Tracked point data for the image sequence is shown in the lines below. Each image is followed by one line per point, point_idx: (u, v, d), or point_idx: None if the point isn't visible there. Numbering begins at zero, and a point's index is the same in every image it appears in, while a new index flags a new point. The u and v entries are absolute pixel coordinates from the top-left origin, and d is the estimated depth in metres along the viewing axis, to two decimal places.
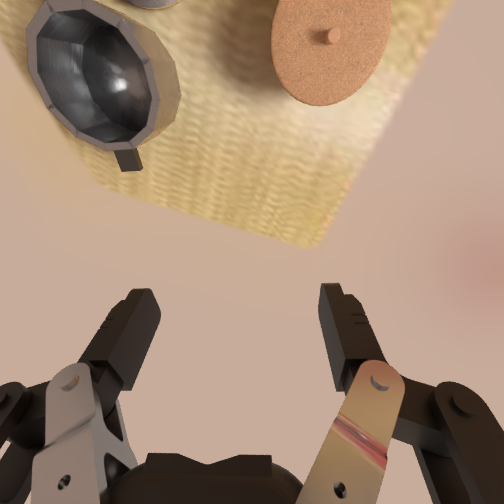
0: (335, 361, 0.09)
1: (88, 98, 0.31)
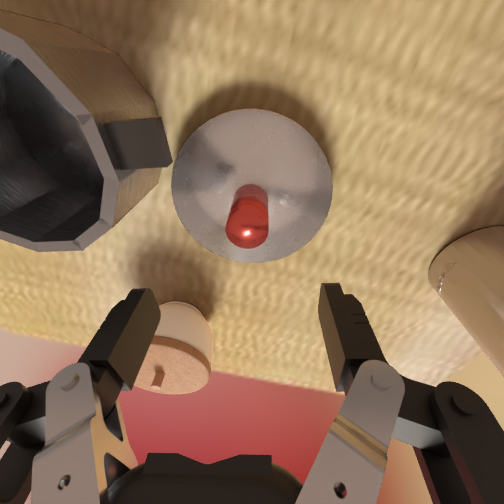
0: (335, 361, 0.09)
1: None
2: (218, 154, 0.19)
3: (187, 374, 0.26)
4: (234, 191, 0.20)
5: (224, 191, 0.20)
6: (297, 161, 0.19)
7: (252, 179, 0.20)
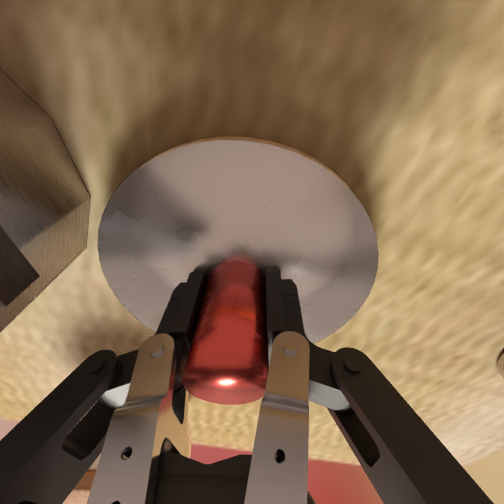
0: None
1: None
2: (177, 216, 0.10)
3: None
4: (209, 271, 0.12)
5: (192, 270, 0.12)
6: (320, 229, 0.10)
7: (239, 255, 0.11)
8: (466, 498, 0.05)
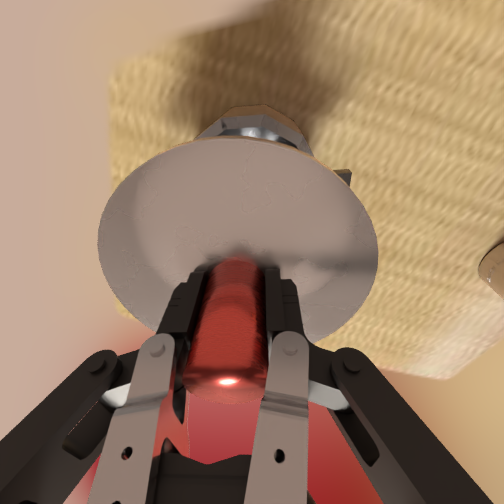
0: None
1: None
2: (176, 215, 0.10)
3: None
4: (209, 270, 0.12)
5: (192, 270, 0.12)
6: (320, 229, 0.10)
7: (239, 254, 0.11)
8: (466, 497, 0.05)
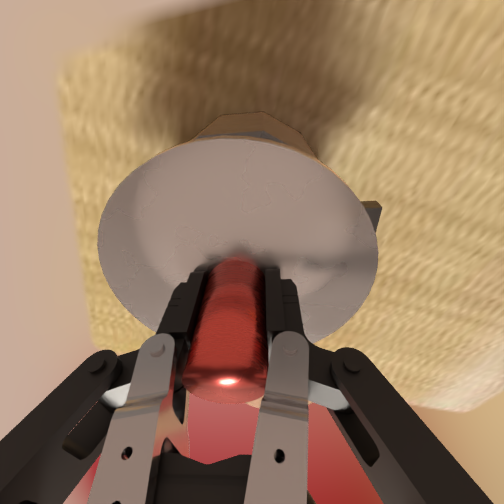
0: None
1: None
2: (176, 215, 0.10)
3: None
4: (209, 270, 0.12)
5: (192, 270, 0.12)
6: (320, 229, 0.10)
7: (239, 254, 0.11)
8: (465, 497, 0.05)
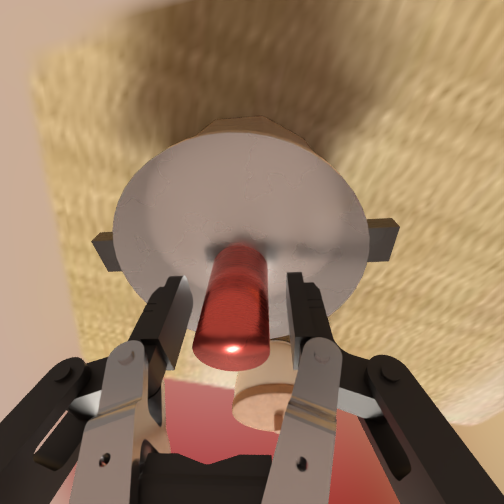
0: (292, 342, 0.10)
1: None
2: (186, 203, 0.11)
3: None
4: (214, 255, 0.13)
5: (198, 255, 0.13)
6: (316, 215, 0.11)
7: (242, 239, 0.12)
8: None
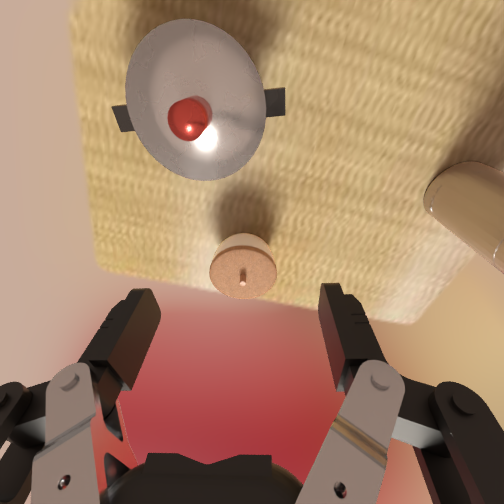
0: (335, 361, 0.09)
1: None
2: (164, 65, 0.22)
3: (262, 276, 0.38)
4: None
5: (173, 103, 0.23)
6: (232, 71, 0.22)
7: (196, 90, 0.23)
8: None
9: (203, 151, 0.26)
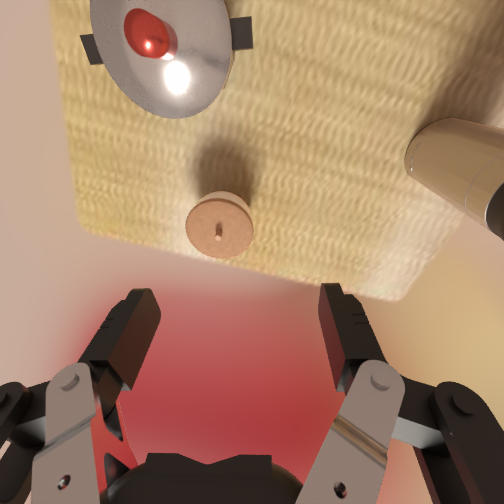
0: (335, 361, 0.09)
1: None
2: None
3: (238, 232, 0.38)
4: None
5: None
6: None
7: (160, 14, 0.23)
8: None
9: (171, 84, 0.26)
